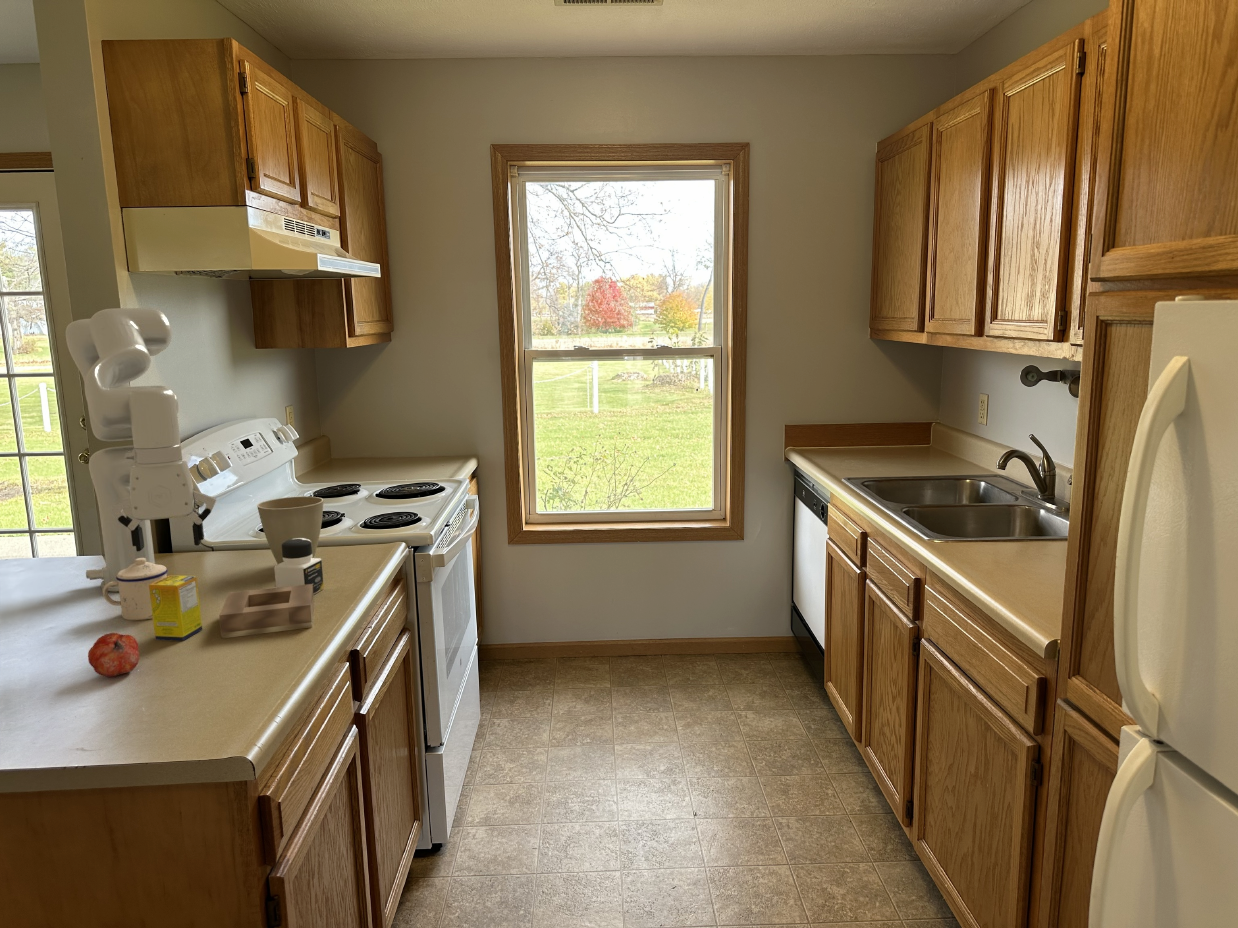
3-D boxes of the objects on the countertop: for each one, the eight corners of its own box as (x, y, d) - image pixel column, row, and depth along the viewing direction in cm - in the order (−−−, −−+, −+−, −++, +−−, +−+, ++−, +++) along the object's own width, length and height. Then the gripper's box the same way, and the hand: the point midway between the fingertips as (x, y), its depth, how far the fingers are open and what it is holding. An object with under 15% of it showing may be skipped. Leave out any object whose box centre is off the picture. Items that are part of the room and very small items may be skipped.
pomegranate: (87, 688, 141) (87, 669, 134) (88, 646, 144) (87, 626, 137) (138, 682, 145) (140, 663, 138) (137, 641, 148) (140, 621, 141)
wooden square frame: (221, 638, 156) (219, 615, 156) (230, 614, 170) (228, 592, 169) (312, 627, 161) (310, 604, 161) (314, 604, 174) (312, 583, 174)
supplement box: (175, 628, 162) (168, 574, 160) (203, 629, 161) (197, 575, 159) (154, 640, 156) (147, 584, 154) (183, 641, 155) (177, 585, 153)
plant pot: (336, 567, 201) (330, 502, 198) (270, 579, 193) (264, 511, 190) (319, 554, 213) (314, 493, 210) (257, 564, 205) (251, 501, 202)
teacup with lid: (176, 604, 176) (170, 550, 174) (165, 618, 168) (158, 562, 166) (113, 610, 173) (106, 556, 171) (98, 625, 165) (91, 568, 163)
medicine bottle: (306, 599, 178) (301, 545, 176) (276, 597, 179) (271, 543, 177) (324, 589, 185) (320, 536, 183) (295, 587, 186) (290, 535, 184)
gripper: (99, 462, 147) (111, 556, 149) (207, 455, 152) (217, 546, 154) (110, 457, 154) (122, 547, 156) (213, 450, 159) (222, 537, 162)
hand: (169, 546), depth 155 cm, fingers open, 9 cm apart
